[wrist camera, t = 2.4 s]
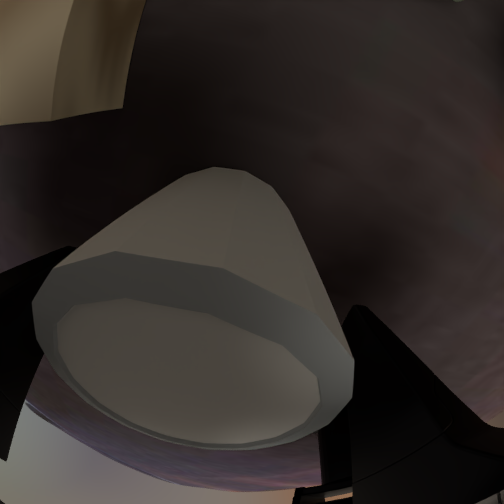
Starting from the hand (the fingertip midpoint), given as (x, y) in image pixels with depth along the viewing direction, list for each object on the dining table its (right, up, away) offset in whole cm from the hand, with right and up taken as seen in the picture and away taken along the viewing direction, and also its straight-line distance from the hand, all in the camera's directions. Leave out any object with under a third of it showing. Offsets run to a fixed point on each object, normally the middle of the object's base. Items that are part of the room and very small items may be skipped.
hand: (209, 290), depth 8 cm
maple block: (-7, +11, -3) cm, 13 cm away
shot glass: (0, +2, +3) cm, 3 cm away
